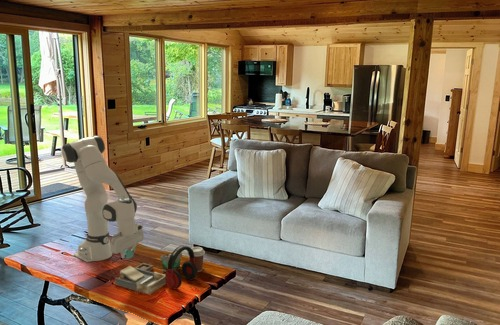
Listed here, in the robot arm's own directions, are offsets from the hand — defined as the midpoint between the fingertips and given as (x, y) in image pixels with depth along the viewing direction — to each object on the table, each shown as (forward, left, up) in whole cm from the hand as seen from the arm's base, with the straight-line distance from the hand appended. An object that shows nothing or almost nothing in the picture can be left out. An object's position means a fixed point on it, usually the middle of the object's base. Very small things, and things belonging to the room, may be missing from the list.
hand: (128, 255), depth 203 cm
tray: (+15, 0, -14) cm, 20 cm away
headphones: (+26, +10, -14) cm, 31 cm away
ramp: (+2, 0, -12) cm, 12 cm away
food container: (+14, +19, -14) cm, 27 cm away
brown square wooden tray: (-1, +13, -14) cm, 19 cm away
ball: (0, 0, +1) cm, 1 cm away
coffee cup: (+24, +27, -14) cm, 39 cm away
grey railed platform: (+4, 0, -14) cm, 14 cm away
